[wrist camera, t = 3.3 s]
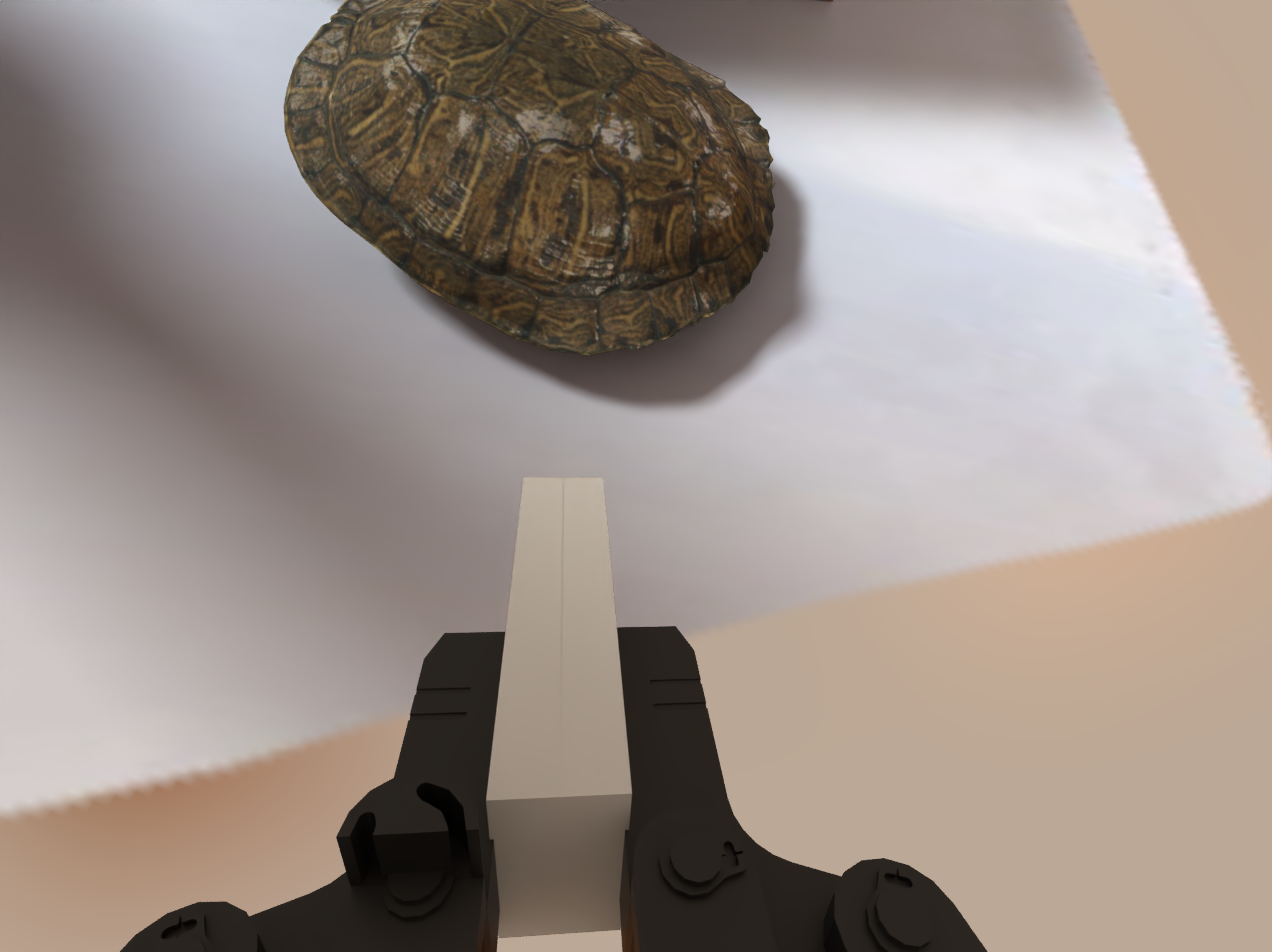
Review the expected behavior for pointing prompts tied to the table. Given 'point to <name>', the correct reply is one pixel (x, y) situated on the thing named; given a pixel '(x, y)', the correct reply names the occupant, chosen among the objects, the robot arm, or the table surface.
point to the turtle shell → (535, 165)
